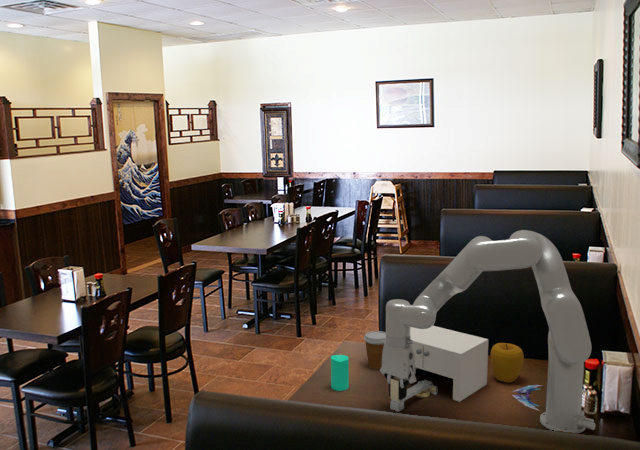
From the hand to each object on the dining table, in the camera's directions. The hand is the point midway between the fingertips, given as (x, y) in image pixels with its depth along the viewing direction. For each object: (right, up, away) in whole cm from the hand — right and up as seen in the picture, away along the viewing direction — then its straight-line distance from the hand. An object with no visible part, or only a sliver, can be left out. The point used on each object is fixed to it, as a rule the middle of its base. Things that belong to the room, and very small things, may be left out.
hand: (397, 396), depth 186 cm
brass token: (+9, -3, +11) cm, 14 cm away
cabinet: (+16, -1, +21) cm, 27 cm away
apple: (+40, -1, +22) cm, 46 cm away
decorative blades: (+44, -3, +9) cm, 45 cm away
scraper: (+5, -3, +6) cm, 9 cm away
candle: (-17, -2, +17) cm, 24 cm away
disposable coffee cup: (-3, +1, +35) cm, 35 cm away
